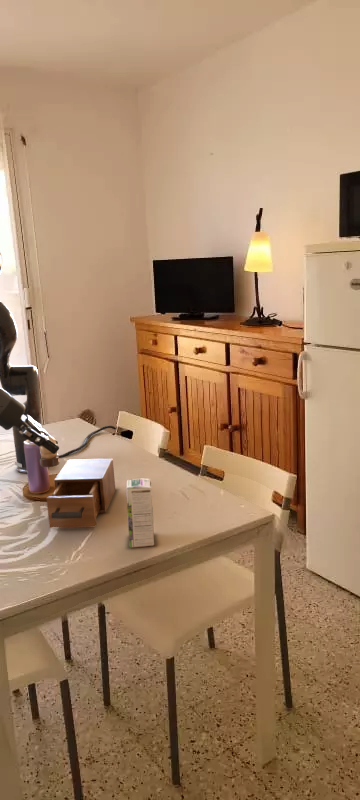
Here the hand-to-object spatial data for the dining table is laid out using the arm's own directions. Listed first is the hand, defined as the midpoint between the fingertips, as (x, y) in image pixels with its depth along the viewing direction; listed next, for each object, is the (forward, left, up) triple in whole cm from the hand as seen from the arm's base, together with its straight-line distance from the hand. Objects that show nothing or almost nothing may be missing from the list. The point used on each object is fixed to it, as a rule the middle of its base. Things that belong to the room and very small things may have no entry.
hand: (56, 447), depth 156 cm
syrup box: (+16, +23, -18) cm, 34 cm away
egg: (+1, -2, -4) cm, 5 cm away
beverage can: (-17, -11, -18) cm, 27 cm away
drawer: (+5, +5, -17) cm, 19 cm away
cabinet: (-8, +5, -18) cm, 20 cm away
